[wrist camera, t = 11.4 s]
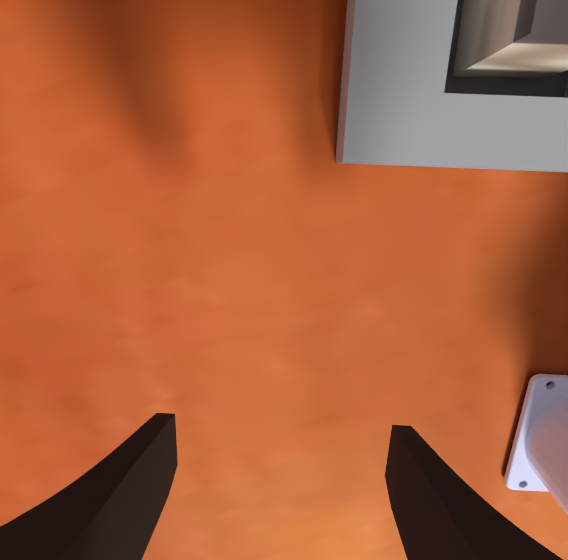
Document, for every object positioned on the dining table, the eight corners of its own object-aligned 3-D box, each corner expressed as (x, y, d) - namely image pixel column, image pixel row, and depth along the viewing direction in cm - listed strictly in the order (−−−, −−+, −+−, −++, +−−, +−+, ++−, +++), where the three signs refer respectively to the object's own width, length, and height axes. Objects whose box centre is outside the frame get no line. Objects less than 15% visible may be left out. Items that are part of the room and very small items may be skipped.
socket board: (710, -138, 15) (807, -208, 12) (620, 174, 19) (679, 176, 16) (358, -148, 15) (373, -220, 12) (335, 162, 19) (342, 162, 16)
